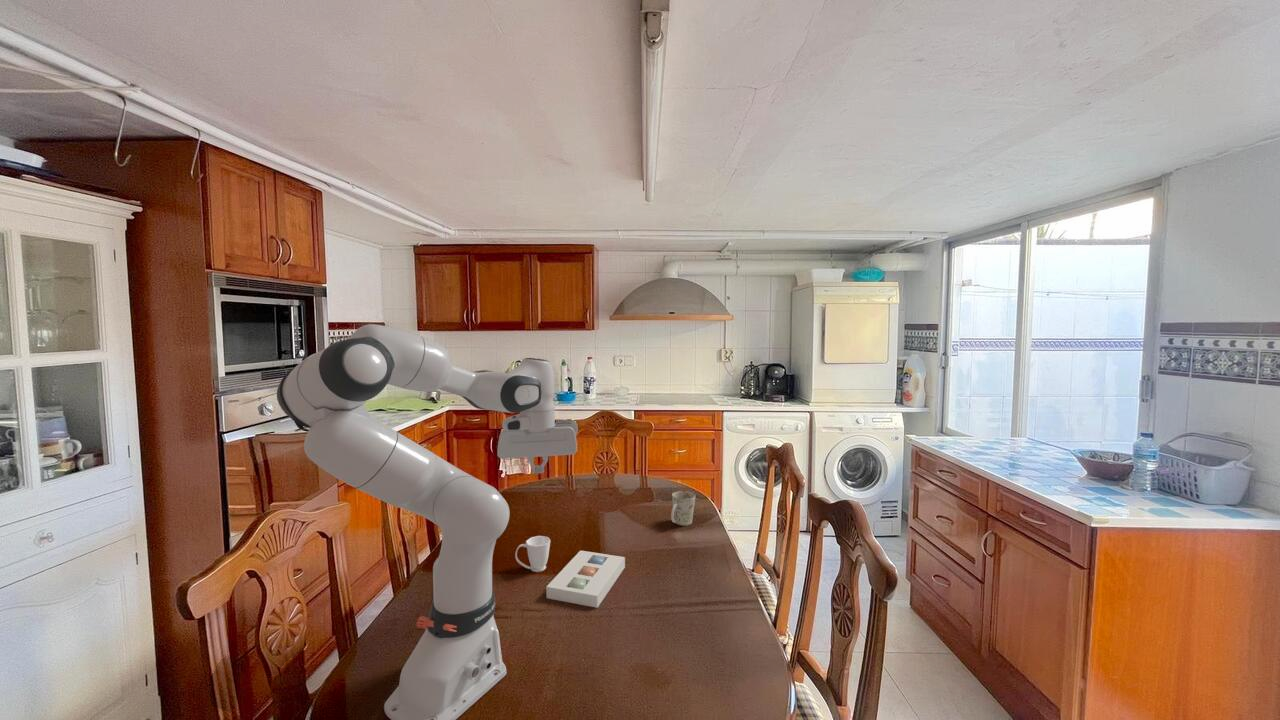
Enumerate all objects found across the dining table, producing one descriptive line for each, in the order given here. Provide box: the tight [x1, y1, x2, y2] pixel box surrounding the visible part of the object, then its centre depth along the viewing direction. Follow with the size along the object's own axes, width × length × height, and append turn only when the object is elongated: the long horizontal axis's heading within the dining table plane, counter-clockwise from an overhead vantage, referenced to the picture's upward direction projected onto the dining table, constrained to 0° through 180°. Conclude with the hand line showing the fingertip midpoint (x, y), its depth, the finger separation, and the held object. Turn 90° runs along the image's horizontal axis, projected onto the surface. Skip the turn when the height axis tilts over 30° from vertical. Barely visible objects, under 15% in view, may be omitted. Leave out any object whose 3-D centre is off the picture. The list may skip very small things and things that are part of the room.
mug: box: [670, 490, 696, 527], centre depth 164 cm, size 8×13×10 cm, turn 148°
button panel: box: [545, 550, 626, 608], centre depth 126 cm, size 21×14×3 cm
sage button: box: [570, 578, 586, 590], centre depth 120 cm, size 4×4×3 cm
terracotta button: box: [581, 566, 595, 577], centre depth 126 cm, size 4×4×3 cm
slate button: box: [590, 556, 604, 565], centre depth 132 cm, size 4×4×3 cm
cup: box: [514, 535, 551, 573], centre depth 133 cm, size 7×10×8 cm
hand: (538, 472), depth 121 cm, fingers closed
